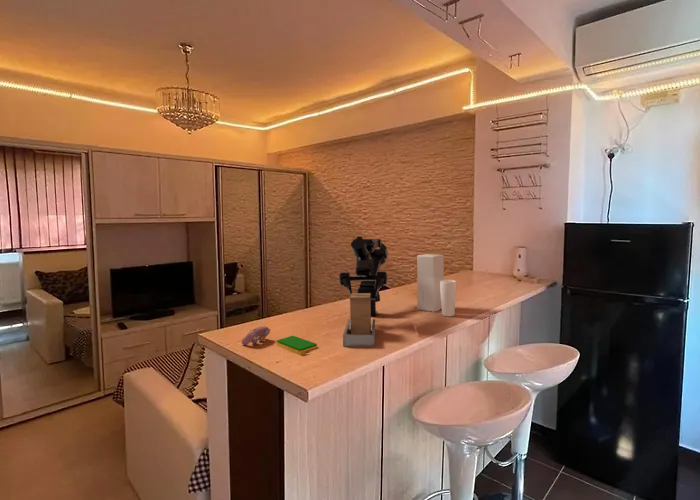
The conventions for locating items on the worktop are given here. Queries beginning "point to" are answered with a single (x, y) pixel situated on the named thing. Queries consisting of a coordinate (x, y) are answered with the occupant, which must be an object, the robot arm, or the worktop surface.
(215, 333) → the worktop surface
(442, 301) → the drinking glass
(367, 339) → the metal bay
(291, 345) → the dish sponge
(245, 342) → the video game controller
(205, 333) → the worktop surface
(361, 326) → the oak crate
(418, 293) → the tall white carton
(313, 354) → the worktop surface
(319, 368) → the worktop surface
